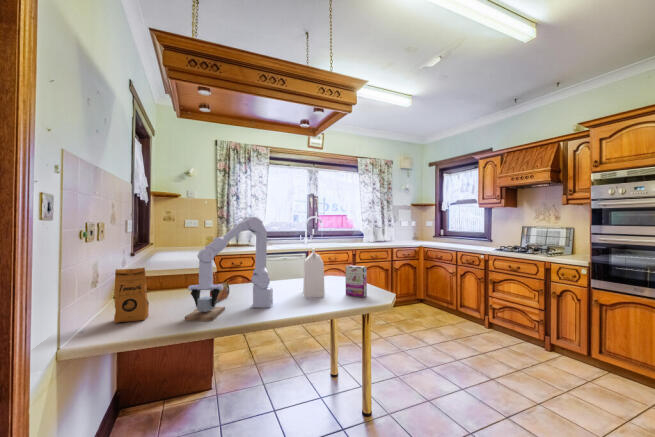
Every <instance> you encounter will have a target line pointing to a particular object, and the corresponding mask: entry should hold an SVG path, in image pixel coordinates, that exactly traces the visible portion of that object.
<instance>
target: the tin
mask: <svg viewBox="0 0 655 437" xmlns="http://www.w3.org/2000/svg"><path fill="white" fill-rule="evenodd" d="M217 285H223V290H220V292H219V294H218V296H217V299H216V303H219V302H221V301H224V300H225V299H227V298H228V297H229V295H230V286H229V284H228V283H227V282H221V283H218V284H217ZM212 291H213V290H209V297H212V294H211V292H212Z"/></svg>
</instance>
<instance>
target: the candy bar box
mask: <svg viewBox="0 0 655 437" xmlns="http://www.w3.org/2000/svg"><path fill="white" fill-rule="evenodd" d="M367 269H368V267H367V266H365V265H353V264H349V265H346V266H345V296H350V297H357V298H358V297H359V298H366V297H367V296H368V285H367V284H368V281H367V280H368V276H367V274H368V273H367V272H368V271H367Z"/></svg>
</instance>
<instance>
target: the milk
mask: <svg viewBox="0 0 655 437" xmlns="http://www.w3.org/2000/svg"><path fill="white" fill-rule="evenodd" d="M324 267H325V265H324V261H323V259H322V256H321V255H320V254H319V253H316V249H315V247H311V253H310V254H309V255H308V256H307V257H306V258H305V259H304V262H303V284H302V285H303V287H302V288H303V289H302V291H303V292H302V293H303V294H304V295H303V298H317V297H318V298H319V297H320V298H323V297H322V296H326V295H325V290H326V289H325V271H324V270H325V268H324Z"/></svg>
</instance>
